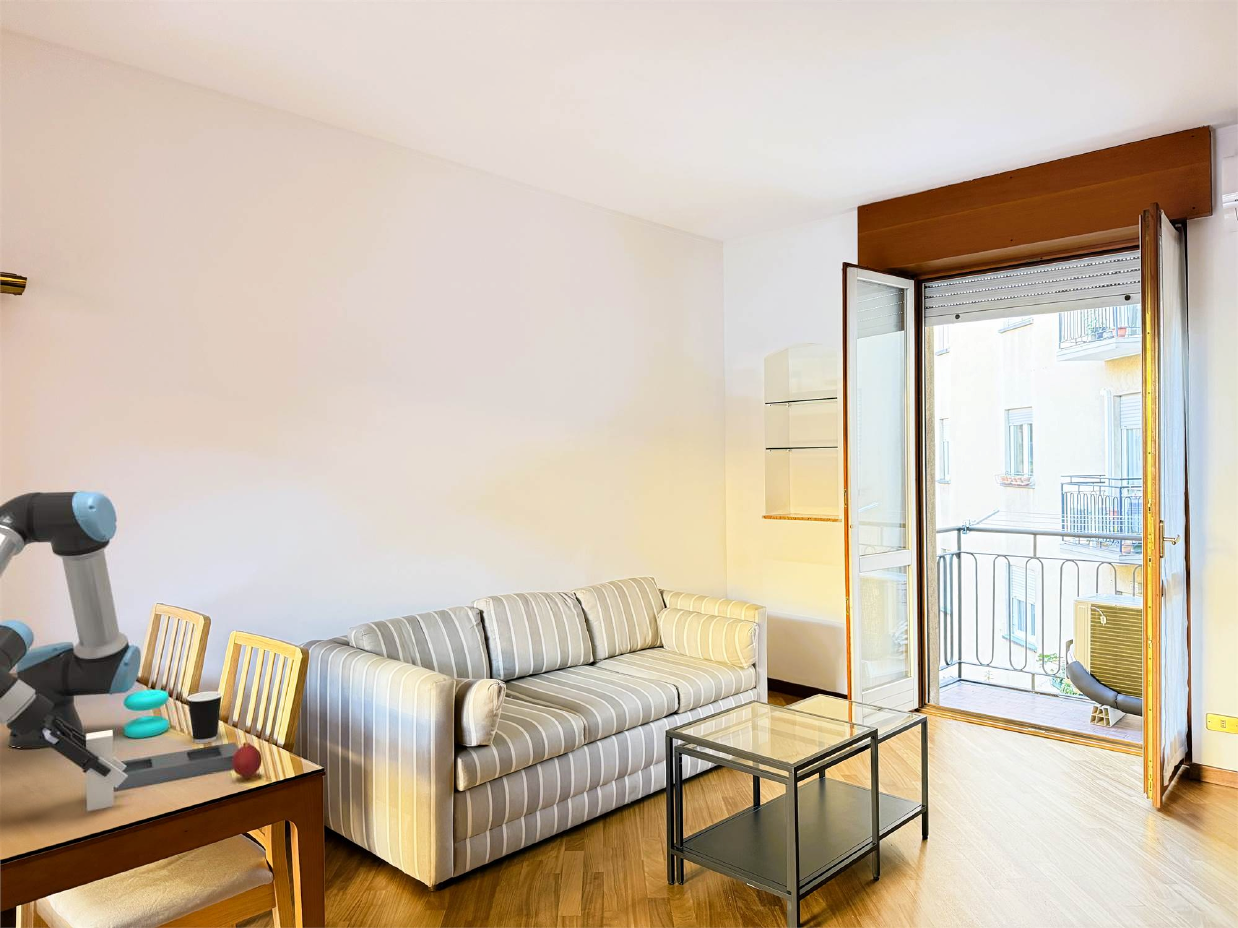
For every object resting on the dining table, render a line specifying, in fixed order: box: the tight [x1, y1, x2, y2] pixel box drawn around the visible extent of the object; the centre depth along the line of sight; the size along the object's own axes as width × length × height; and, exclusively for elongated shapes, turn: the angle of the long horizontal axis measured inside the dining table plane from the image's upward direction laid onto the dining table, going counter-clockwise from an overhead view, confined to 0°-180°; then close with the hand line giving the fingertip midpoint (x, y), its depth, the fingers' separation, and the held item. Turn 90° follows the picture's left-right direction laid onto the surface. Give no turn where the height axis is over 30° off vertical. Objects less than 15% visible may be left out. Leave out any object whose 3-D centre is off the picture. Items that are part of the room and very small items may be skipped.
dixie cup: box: [186, 691, 223, 744], centre depth 208 cm, size 8×8×11 cm
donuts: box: [123, 689, 170, 739], centre depth 214 cm, size 10×10×10 cm
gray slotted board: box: [114, 741, 240, 792], centre depth 185 cm, size 28×10×3 cm, turn 122°
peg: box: [85, 729, 115, 812], centre depth 168 cm, size 4×4×14 cm
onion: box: [232, 741, 263, 780], centre depth 181 cm, size 6×6×8 cm
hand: (121, 776), depth 170 cm, fingers open, 6 cm apart
